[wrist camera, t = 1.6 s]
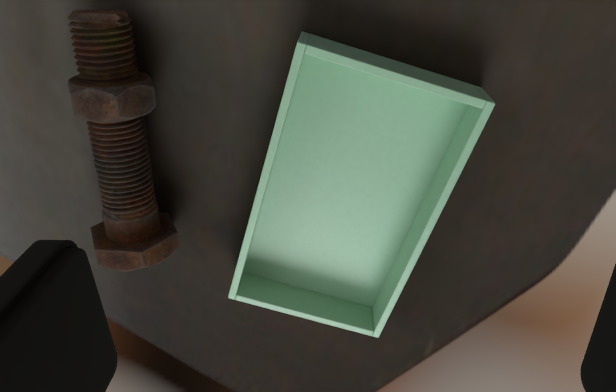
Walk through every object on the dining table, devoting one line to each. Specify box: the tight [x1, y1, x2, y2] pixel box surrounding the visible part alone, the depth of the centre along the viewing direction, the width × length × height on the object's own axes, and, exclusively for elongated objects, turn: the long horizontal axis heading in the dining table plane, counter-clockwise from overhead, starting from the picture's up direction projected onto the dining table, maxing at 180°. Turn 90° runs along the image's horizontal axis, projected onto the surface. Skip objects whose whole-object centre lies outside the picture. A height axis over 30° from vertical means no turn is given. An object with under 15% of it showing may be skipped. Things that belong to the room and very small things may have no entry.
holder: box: [228, 31, 495, 338], centre depth 31 cm, size 11×18×3 cm, turn 164°
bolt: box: [68, 10, 179, 271], centre depth 29 cm, size 6×5×15 cm
